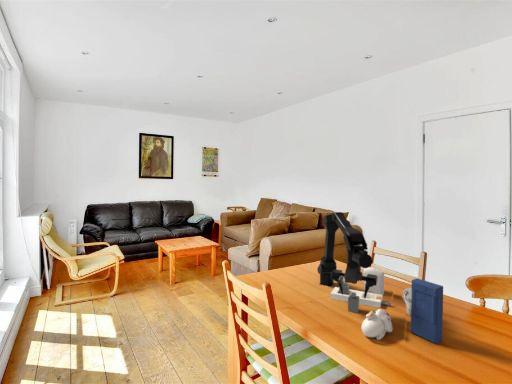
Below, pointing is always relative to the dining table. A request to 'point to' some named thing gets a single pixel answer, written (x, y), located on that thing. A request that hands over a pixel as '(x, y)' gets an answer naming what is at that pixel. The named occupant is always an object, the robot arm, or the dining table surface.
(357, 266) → the robot arm
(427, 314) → the electronic device
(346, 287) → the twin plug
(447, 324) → the dining table surface
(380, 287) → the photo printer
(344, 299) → the strip
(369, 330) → the cat figurine
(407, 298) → the light bulb
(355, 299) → the plug
